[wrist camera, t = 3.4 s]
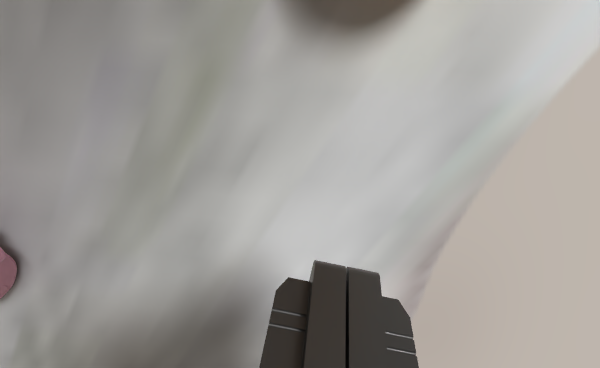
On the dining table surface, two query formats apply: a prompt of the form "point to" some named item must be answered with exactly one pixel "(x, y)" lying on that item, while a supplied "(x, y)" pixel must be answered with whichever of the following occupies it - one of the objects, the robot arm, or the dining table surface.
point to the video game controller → (6, 272)
